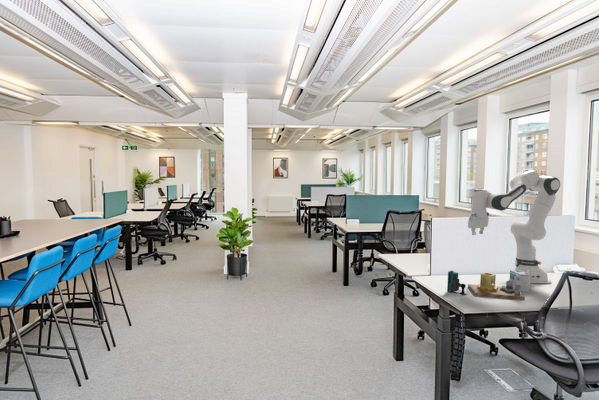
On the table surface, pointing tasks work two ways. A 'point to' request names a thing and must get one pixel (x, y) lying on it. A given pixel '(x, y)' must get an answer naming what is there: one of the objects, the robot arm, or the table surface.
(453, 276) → the surveillance camera
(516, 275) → the light bulb box
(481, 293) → the walnut board
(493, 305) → the table surface
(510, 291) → the gear
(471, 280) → the table surface
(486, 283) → the yellow flanged housing
